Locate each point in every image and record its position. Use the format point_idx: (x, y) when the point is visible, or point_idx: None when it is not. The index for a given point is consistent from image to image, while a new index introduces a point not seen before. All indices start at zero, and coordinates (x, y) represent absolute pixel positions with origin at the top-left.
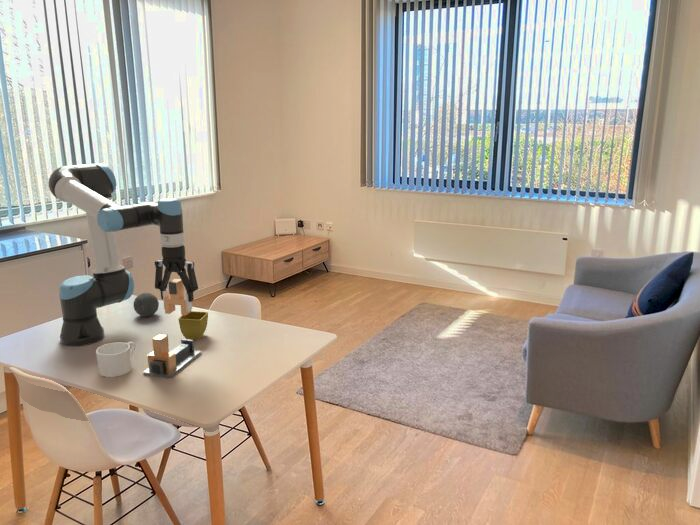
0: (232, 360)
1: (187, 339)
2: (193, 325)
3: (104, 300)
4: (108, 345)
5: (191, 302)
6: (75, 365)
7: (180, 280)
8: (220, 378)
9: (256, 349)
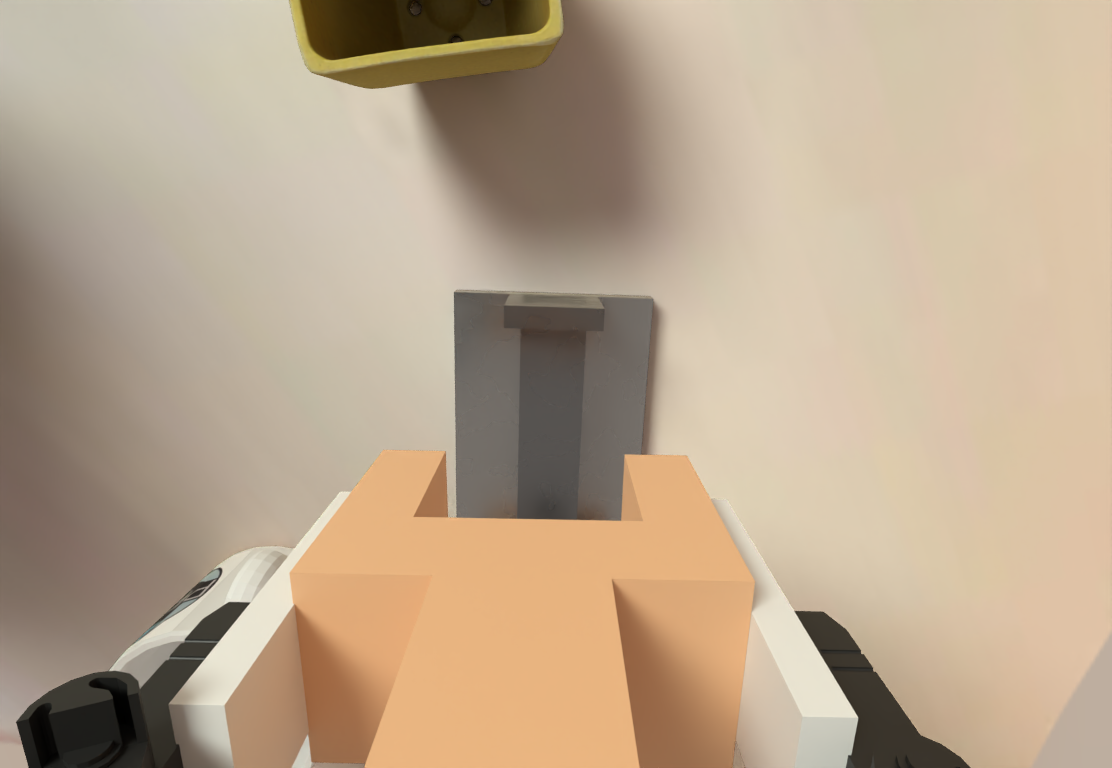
0: (893, 339)
1: (553, 312)
2: (483, 62)
3: None
4: (125, 668)
5: (759, 565)
6: (25, 615)
7: None
8: (889, 563)
9: (1021, 119)
